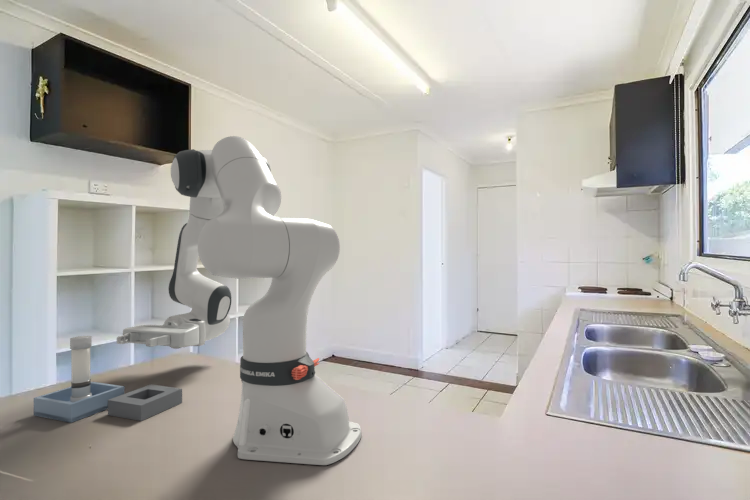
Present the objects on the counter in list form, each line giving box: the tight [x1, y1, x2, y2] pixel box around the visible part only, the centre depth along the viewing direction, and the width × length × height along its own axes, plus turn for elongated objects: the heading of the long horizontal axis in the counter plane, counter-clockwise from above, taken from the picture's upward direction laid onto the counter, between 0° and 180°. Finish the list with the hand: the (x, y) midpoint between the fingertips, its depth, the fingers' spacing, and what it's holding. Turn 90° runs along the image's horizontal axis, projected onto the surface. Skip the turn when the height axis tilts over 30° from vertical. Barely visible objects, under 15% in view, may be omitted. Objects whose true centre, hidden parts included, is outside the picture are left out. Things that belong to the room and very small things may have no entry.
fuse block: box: [107, 383, 183, 422], centre depth 84 cm, size 9×10×3 cm
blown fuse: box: [69, 335, 92, 403], centre depth 84 cm, size 4×4×14 cm
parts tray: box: [33, 381, 125, 424], centre depth 84 cm, size 11×11×4 cm
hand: (133, 341), depth 95 cm, fingers open, 8 cm apart
